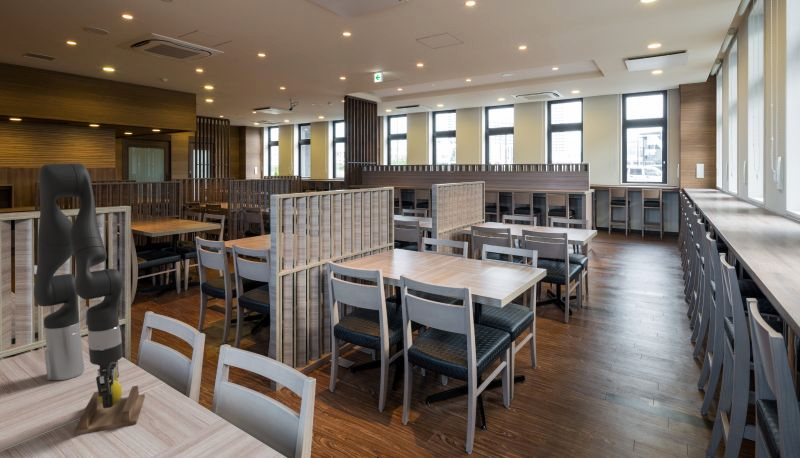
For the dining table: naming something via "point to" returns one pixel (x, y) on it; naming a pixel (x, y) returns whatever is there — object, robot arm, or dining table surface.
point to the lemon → (114, 392)
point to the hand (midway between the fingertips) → (110, 401)
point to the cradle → (110, 413)
